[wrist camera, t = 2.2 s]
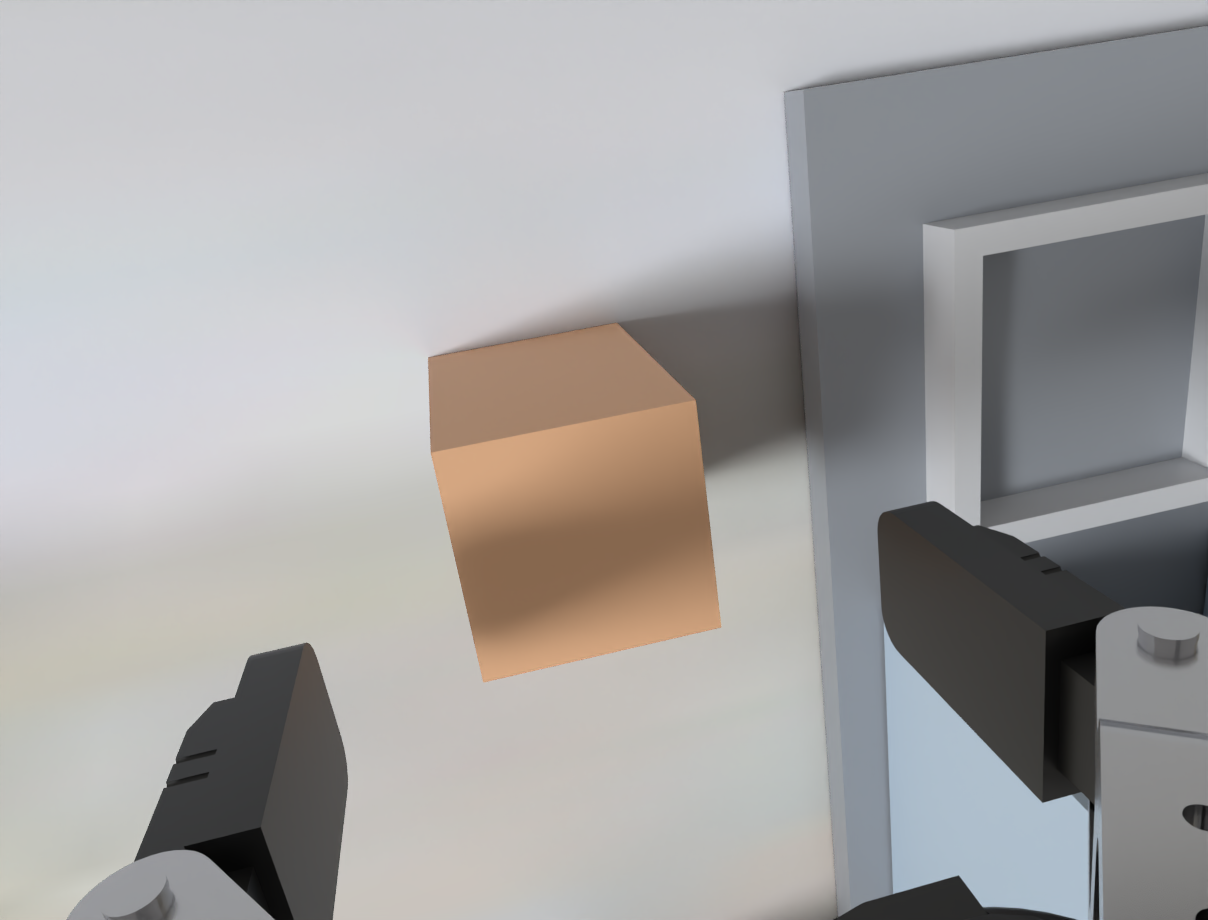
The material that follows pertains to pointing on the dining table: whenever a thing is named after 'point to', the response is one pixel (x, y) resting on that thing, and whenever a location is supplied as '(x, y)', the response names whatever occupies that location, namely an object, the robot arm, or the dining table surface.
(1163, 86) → the housing base
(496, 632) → the tan rectangular block
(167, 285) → the dining table surface
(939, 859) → the cover
